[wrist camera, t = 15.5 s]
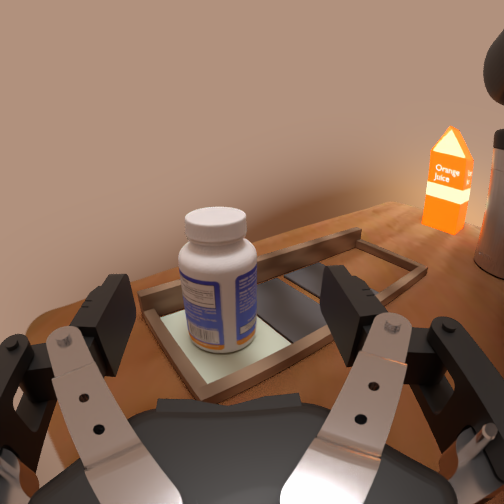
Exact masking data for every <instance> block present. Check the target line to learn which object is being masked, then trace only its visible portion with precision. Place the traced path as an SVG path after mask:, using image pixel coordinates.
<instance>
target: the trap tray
mask: <svg viewBox="0 0 504 504" xmlns="http://www.w3.org/2000/svg"><path fill="white" fill-rule="evenodd" d="M361 231H362V229H360V228H357V227H355V228H351V229H348V230H345V231H341V232H338V233H335V234H331V235H328V236H325V237H321V238H318V239H315V240H311V241H308V242H304V243H301V244H298V245H294V246H291V247H288V248H284V249H281V250H278V251H274V252H271V253H267V254H264V255H261V256H257V283H260V282H263V281H265V280H268V279H271V278H274V277H277V276H279V275H282V274H285V273H288V272H291V271H293V270H296V269H299V268H301V267H304V266H307V265H310V264H312V263H315V262H318V261H320V260H323V259H326V258H328V257H331V256H334V255H336V254H339V253H342V252H344V251H347V250H350V249H352V248H355V247H356V248H358V249H361V250H363V251H366V252H368V253H370V254H373V255H375V256H377V257H380V258H382V259H384V260H387V261H389V262H391V263H393V264H396V265H398V266H400V267H403V268H405V269H407V270H409V271H411V272H410V273H408V274H407V275H405V276H404V277H402V278H401V279H399V280H398V281H396V282H395V283H393V284H392V285H390V286H389V287H387V288H386V289H384V290H383V291H381V292H380V293H379V292H377V291H375V290H373V289H371V288H370V290H372V292H373V293H374V294H375V296H376V297H377V298H378V299H379V301H380V302H381V303H382V305H383V306H385V305H387V304H388V303H389V302H391V301H392V300H394V299H395V298H396V297H398V296H399V295H400V294H402V293H403V292H404V291H406V290H407V289H408V288H409V287H411V286H412V285H413V284H415V283H416V282H417V281H418V280H420V279H421V278H422V277H424V276H425V275H426V273H427V269H428V267H427V266H424V265H422V264H420V263H417V262H415V261H413V260H410V259H408V258H406V257H403V256H401V255H398V254H396V253H394V252H391V251H389V250H386V249H384V248H381V247H379V246H376V245H374V244H371V243H369V242H366V241H364V240H361ZM324 268H325V265H323V264H321V263H319V262H318V263H315V264H313V265H310V266H307V267H305V268H302V269H299V270H297V271H294V272H291V273H288V274H286V275H284V277H285V278H287V279H288V280H290V281H292V282H293V283H295V284H297V285H298V286H300V287H302V288H303V289H305V290H307V291H308V292H310V293H312V294H313V295H315V296H317V297H318V298H320V294H321V286H322V278H323V271H324ZM137 294H138V298H139V303H140V308H141V312H142V316H143V317H144V319H145V321H146V323H147V324H148V326H149V328H150V330H151V331H152V333H153V335H154V336H155V338H156V340H157V341H158V343H159V345H160V346H161V348H162V350H163V351H164V353H165V354H166V356H167V358H168V359H169V361H170V362H171V364H172V365H173V367H174V369H175V370H176V372H177V373H178V375H179V376H180V378H181V379H182V381H183V382H184V384H185V385H186V387H187V388H188V390H189V391H190V392H191V394H192V395H193V397H194V398H195V400H197V401H202V402H207V403H212V404H217V403H220V402H222V401H224V400H226V399H228V398H230V397H232V396H234V395H236V394H238V393H240V392H242V391H244V390H246V389H248V388H250V387H252V386H254V385H256V384H258V383H260V382H262V381H264V380H266V379H268V378H270V377H272V376H273V375H275V374H277V373H279V372H281V371H283V370H284V369H286V368H288V367H290V366H291V365H293V364H295V363H297V362H298V361H300V360H302V359H304V358H305V357H307V356H309V355H310V354H312V353H314V352H315V351H317V350H319V349H320V348H322V347H324V346H325V345H327V344H329V343H330V342H332V341H333V340H334V338H333V336H332V334H331V332H330V330H329V328H328V325H327V323H326V321H325V319H324V317H323V315H322V313H321V309H320V304H318V303H317V302H315V301H314V300H312V299H310V298H309V297H307V296H305V295H304V294H302V293H301V292H299V291H297V290H296V289H294V288H292V287H291V286H289V285H288V284H286V283H284V282H283V281H281V280H280V279H278V278H275V279H272V280H269V281H266V282H264V283H261V284H258V285H257V316H258V317H260V318H261V319H262V320H263V321H265V322H266V323H267V324H268V325H270V326H271V327H272V328H273V329H275V330H276V331H277V332H278V333H280V334H281V335H282V336H283V337H285V338H286V339H287V340H289V341H290V342H291V343H292V344H291V343H290V342H288V341H287V340H286V339H285V338H283V337H282V336H281V335H280V334H278V333H277V332H276V331H275V330H273V329H272V328H271V327H270V326H268V325H267V324H266V323H265V322H263V321H262V320H261V319H260V318H258V317H257V325H256V333H255V336H254V338H253V340H252V341H251V342H250V343H249V344H248V345H247V346H245V347H244V348H242V349H240V350H237V351H234V352H229V353H213V352H209V351H205V350H203V349H201V348H199V347H197V346H196V345H195V344H194V343H193V342H192V340H191V338H190V336H189V332H188V327H187V320H186V314H185V310H182V311H179V312H176V313H173V314H170V315H167V316H164V317H161V318H160V317H159V316H162V315H165V314H168V313H171V312H174V311H177V310H181V309H184V301H183V294H182V287H181V279H179V280H175V281H172V282H168V283H165V284H162V285H158V286H155V287H151V288H148V289H144V290H141V291H137Z"/></svg>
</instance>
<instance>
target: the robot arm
mask: <svg viewBox="0 0 504 504" xmlns="http://www.w3.org/2000/svg"><path fill="white" fill-rule="evenodd" d="M483 76H484V83H485V87H486V89H487V92H488V93H489V95H490V96H491V97H492V98H493V100H495V101H496V102H498V103H500V104H502V105H504V30H503V31H502V32H501V34H500V35H499V36H498V38H497V39H496V40H495V41H494V42H493V44H492V45H491V47H490V48H489V50H488V52H487V55H486V58H485V62H484V70H483ZM493 147H494V148H493V157H492V169H491V176H490V184H489V191H488V197H487V203H486V208H485V214H484V219H483V223H482V228H481V232H480V237H479V241H478V245H477V249H476V252H475V256H474V260H475V262H476V263H477V264H478V265H479V266H480V267H481V268H482V269H484V270H485V271H487V272H489V273H491V274H493V275H495V276H497V277H500V278H503V279H504V129H500V130H497V131H496V132H495V135H494V145H493ZM320 309H321V313H322V315H323V317H324V319H325V321H326V323H327V325H328V328H329V330H330V332H331V334H332V336H333V338H334V341H335V343H336V345H337V347H338V349H339V351H340V354H341V356H342V358H343V360H344V362H345V365H346V367H352V366H353V367H352V369H351V371H350V373H349V375H348V377H347V379H346V381H345V384H344V386H343V388H342V390H341V392H340V394H339V396H338V398H337V400H336V402H335V404H334V406H333V407H332V409H331V410H330V409H327V408H324V407H322V406H318V405H314V404H309V403H301V400H300V396H299V393H294V394H285V395H275V396H264V397H261V398H257V399H254V400H250V401H246V402H243V403H239V404H235V405H231V406H224V405H218V404H212V403H207V402H202V401H197V400H192V399H158V401H157V407H156V409H151V410H148V411H144V412H142V413H139V414H137V415H135V416H133V417H131V418H129V419H126V417H125V416H124V414H123V412H122V411H121V409H120V407H119V406H118V404H117V402H116V401H115V399H114V397H113V395H112V393H111V392H110V390H109V388H108V386H107V384H106V382H105V381H104V377H105V376H111V377H116V374H117V371H118V368H119V365H120V362H121V359H122V356H123V353H124V350H125V347H126V345H127V342H128V339H129V336H130V333H131V331H132V328H133V325H134V322H135V319H136V307H135V302H134V298H133V294H132V289H131V285H130V281H129V277H128V275H127V274H110V275H108V277H107V278H106V280H105V281H104V283H103V284H102V286H98V287H97V288H96V289H94V290H93V291H92V292H90V294H89V295H88V297H87V298H86V300H85V302H84V303H83V304H82V306H81V308H80V309H79V311H78V312H77V314H76V315H75V317H74V319H73V320H72V322H71V324H70V325H69V326H65V327H61V328H58V329H56V330H55V331H53V332H52V333H51V334H50V335H49V336H48V338H47V341H46V343H42V344H36V345H30V343H29V341H28V338H27V337H26V336H25V335H22V334H15V335H12V336H10V337H8V338H6V339H5V340H4V341H3V342H2V343H1V345H0V504H484V503H486V502H488V501H489V500H491V499H492V498H494V497H495V496H496V495H498V494H499V493H501V492H502V491H504V379H503V378H502V377H501V375H500V374H499V372H498V371H497V370H496V368H495V367H494V366H493V364H492V363H491V362H490V360H489V359H488V358H487V356H486V355H485V354H484V352H483V351H482V350H481V348H480V347H479V346H478V345H477V343H476V342H475V341H474V340H473V338H472V337H471V336H470V335H469V333H468V332H467V331H466V330H465V329H464V327H463V326H462V325H461V324H460V323H459V322H458V321H456V320H454V319H452V318H449V317H437V318H435V319H433V321H432V323H431V326H430V328H414V327H412V326H411V324H410V322H409V321H408V320H407V319H406V318H405V317H403V316H401V315H399V314H396V313H388V311H387V310H386V309H385V307H384V306H383V305H382V303H381V302H380V301H379V299H378V298H377V297H376V296H375V294H374V293H373V292H372V290H370V288H369V287H368V285H367V284H366V283H365V281H363V280H361V279H360V278H358V277H357V276H351V274H350V273H349V272H348V270H347V269H346V268H345V266H344V265H333V266H325V268H324V271H323V278H322V286H321V294H320ZM447 370H448V372H449V373H450V375H451V376H452V378H453V380H454V383H455V390H453V389H452V387H451V385H450V384H449V382H448V380H447V379H446V377H445V373H446V371H447ZM403 384H409V385H410V387H411V389H412V391H413V393H414V395H415V397H416V399H417V401H418V403H419V405H420V407H421V409H422V411H423V413H424V416H425V418H426V420H427V422H428V424H429V426H430V428H431V431H432V433H433V435H434V437H435V439H436V442H437V444H438V446H439V448H440V451H441V453H442V455H441V457H440V460H439V469H440V471H439V473H437V472H436V471H434V470H432V469H430V468H428V467H426V466H424V465H422V464H421V463H419V462H417V461H415V460H413V459H411V458H410V457H408V456H406V455H404V454H403V453H401V452H399V451H397V450H396V449H394V448H392V447H390V446H389V445H387V444H385V442H386V439H387V437H388V434H389V431H390V428H391V424H392V421H393V418H394V415H395V411H396V408H397V405H398V401H399V397H400V394H401V390H402V386H403ZM18 387H20V388H21V389H22V391H23V392H24V393H23V396H22V398H21V400H20V403H19V405H18V407H17V410H16V412H15V410H14V407H13V398H14V395H15V393H16V391H17V389H18ZM57 399H58V402H59V405H60V408H61V411H62V414H63V416H64V419H65V422H66V424H67V427H68V430H69V432H70V435H71V437H72V440H73V442H74V444H75V447H76V449H77V451H78V453H79V456H80V458H79V459H78V460H76V461H75V462H74V463H73V464H71V465H70V466H69V467H68V468H66V469H65V470H64V471H62V472H61V473H60V474H58V475H57V476H56V477H54V478H53V479H52V480H50V481H49V482H48V483H47V484H45V485H44V486H43V487H41V488H40V489H39V481H38V478H37V476H36V470H37V466H38V462H39V458H40V454H41V450H42V446H43V443H44V440H45V436H46V433H47V430H48V426H49V423H50V420H51V417H52V414H53V411H54V408H55V405H56V402H57Z"/></svg>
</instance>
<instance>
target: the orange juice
mask: <svg viewBox="0 0 504 504" xmlns="http://www.w3.org/2000/svg"><path fill="white" fill-rule="evenodd" d="M473 161H474V160H473V158H472V156H471V154H470V152H469V150H468V148H467V146H466V143H465V141H464V140H463V137H462V135H461V134H460V132H459V130H458V129H456V128H454V127H452V126H450V127H449V128H448V129H447V131H446V132H445V133H444V135H443V136H442V137H441V138H440V140H439V141H438V142H437V143H436V145H435V146H434V147H433V148H432V150H431V155H430V167H429V176H428V182H427V190H426V199H425V206H424V212H423V218H422V224H424V225H427V226H430V227H432V228H435V229H438V230H441V231H444V232H447V233H450V234H452V235H455V234H456V233H458V232H459V231H460V230H461V229H462V228H463V226H464V222H465V216H466V211H467V205H468V200H469V194H470V187H471V186H470V185H471V179H472V171H473Z"/></svg>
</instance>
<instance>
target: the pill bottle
mask: <svg viewBox="0 0 504 504" xmlns="http://www.w3.org/2000/svg"><path fill="white" fill-rule="evenodd" d="M246 232H247V226H246V214H245V213H244V212H243V211H241V210H239V209H235V208H229V207H207V208H201V209H197V210H194V211H192V212H190V213H188V214H187V215H186V217H185V234H186V237H187V239H188V240H189V242H187V243H186V244H185V245H184V246H183V247H182V249H181V250H180V253H179V257H178V261H179V271H180V279H181V287H182V294H183V301H184V308H185V314H186V320H187V327H188V332H189V336H190V338H191V340H192V342H193V343H194V344H195V345H196V346H197V347H199V348H201V349H203V350H205V351H209V352H213V353H229V352H234V351H237V350H240V349H242V348H244V347H245V346H247V345H248V344H249V343H250V342H251V341H252V340H253V338H254V336H255V333H256V325H257V253H256V250H255V247H254V246H253V245H252V244H251V243H250V242H249V241H248V240H246V239H244V237H245V236H246Z"/></svg>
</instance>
